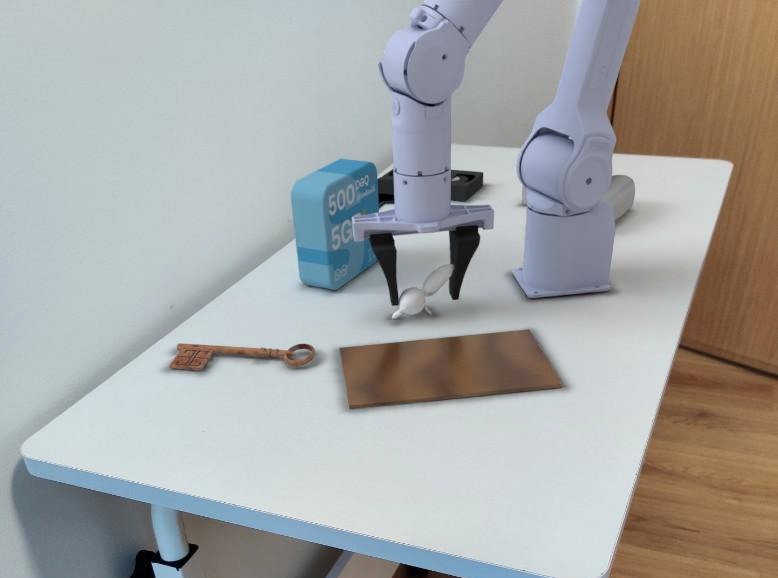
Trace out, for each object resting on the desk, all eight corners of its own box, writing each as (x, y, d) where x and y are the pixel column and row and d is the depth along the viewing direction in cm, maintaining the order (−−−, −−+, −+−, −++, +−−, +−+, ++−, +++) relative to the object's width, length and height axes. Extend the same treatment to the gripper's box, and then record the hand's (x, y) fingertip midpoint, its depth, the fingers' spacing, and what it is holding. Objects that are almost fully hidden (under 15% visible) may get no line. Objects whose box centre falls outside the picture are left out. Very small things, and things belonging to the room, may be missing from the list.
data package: (331, 294, 98) (322, 188, 91) (299, 288, 100) (288, 183, 92) (381, 259, 106) (377, 158, 98) (351, 254, 108) (344, 155, 100)
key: (164, 370, 86) (303, 380, 82) (162, 362, 85) (302, 372, 82) (187, 341, 90) (320, 349, 86) (185, 333, 89) (319, 341, 86)
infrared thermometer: (534, 202, 122) (636, 209, 115) (498, 229, 115) (604, 237, 107) (534, 169, 120) (638, 173, 112) (497, 194, 112) (606, 200, 105)
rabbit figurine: (379, 311, 94) (433, 265, 94) (402, 339, 94) (455, 293, 95) (389, 302, 88) (445, 253, 88) (413, 332, 88) (469, 283, 89)
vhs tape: (483, 185, 127) (484, 171, 126) (465, 201, 122) (465, 187, 121) (398, 178, 132) (398, 165, 131) (377, 193, 127) (376, 179, 126)
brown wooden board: (529, 332, 88) (529, 329, 87) (561, 387, 78) (562, 383, 78) (339, 351, 87) (339, 347, 86) (349, 409, 77) (349, 405, 77)
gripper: (353, 186, 79) (361, 320, 88) (503, 173, 80) (497, 307, 89) (346, 166, 85) (355, 294, 93) (487, 153, 86) (483, 282, 94)
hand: (423, 299), depth 92 cm, fingers closed on rabbit figurine, 6 cm apart
